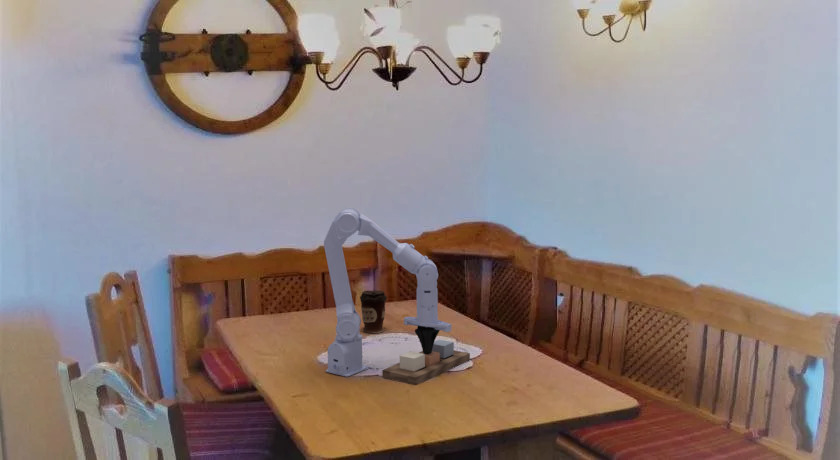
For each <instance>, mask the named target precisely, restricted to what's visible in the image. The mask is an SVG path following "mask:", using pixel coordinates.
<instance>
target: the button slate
mask: <svg viewBox="0 0 840 460" xmlns="http://www.w3.org/2000/svg"><path fill="white" fill-rule="evenodd" d="M454 343H455V342H454V341H449V340H444V339H437V340H435V341H434V344H433V348H432V351H434V352H439V353H440V358H446V357H448V356H451V355H453V354H454V347H455V346H454Z"/></svg>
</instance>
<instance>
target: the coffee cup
mask: <svg viewBox="0 0 840 460" xmlns="http://www.w3.org/2000/svg"><path fill="white" fill-rule="evenodd" d="M387 298H388V296H387V295H386V294H385V292H384V291H383V290H375V289H374V290H363V291H362V292H361V295H360V296H359V299H360V302H361V303H360V304H361V305H360V309H361V310H360V311H361V319H362V323H363V325H364V327H363V331H364V332H365V333H369V334H370V333H371V334H374V333H375V334H379V333H383V332H384V328H383V327H384V326H383V325H384V320H385V315H386V303H387Z"/></svg>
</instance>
